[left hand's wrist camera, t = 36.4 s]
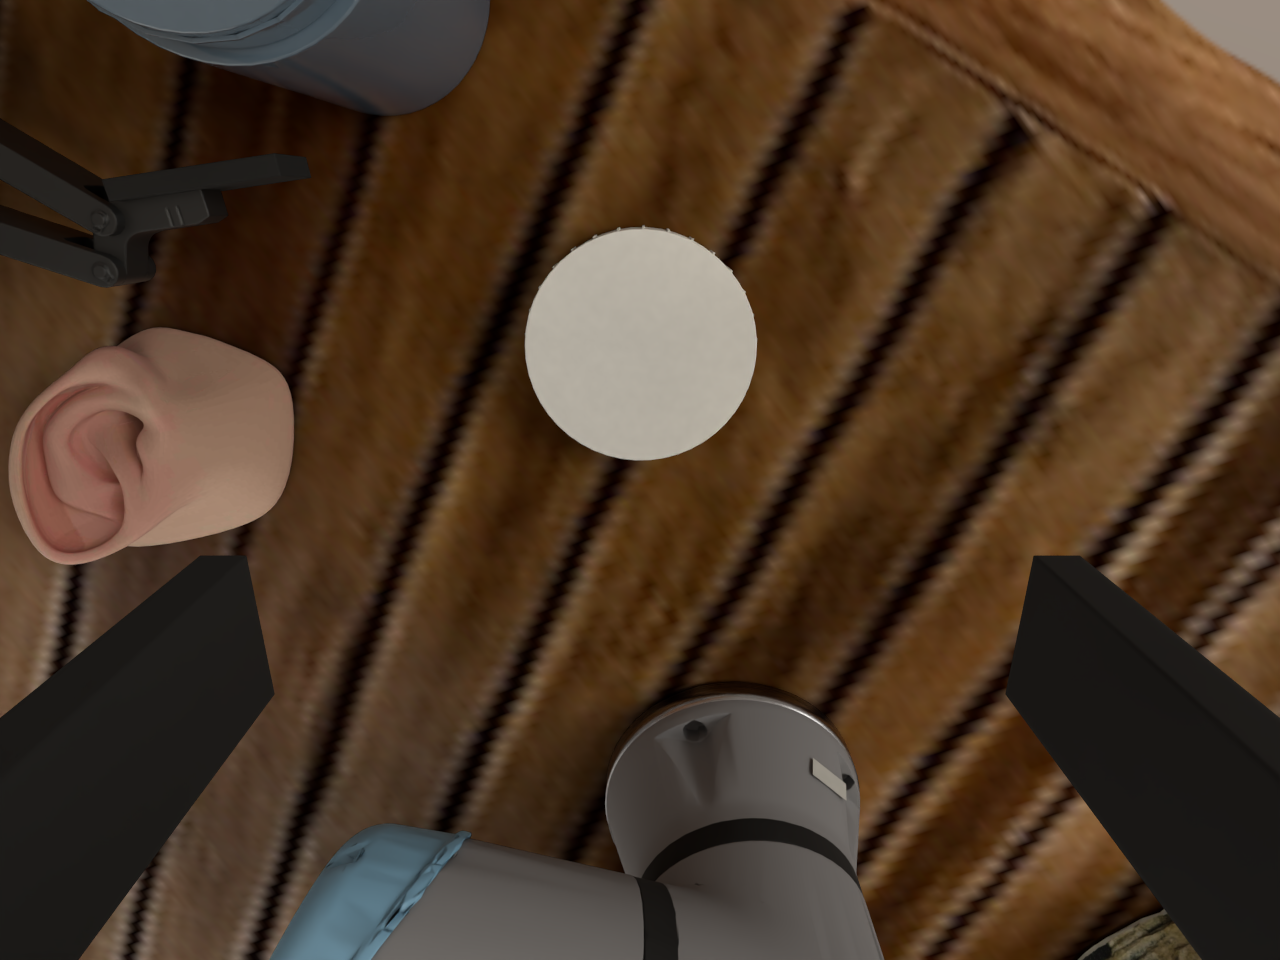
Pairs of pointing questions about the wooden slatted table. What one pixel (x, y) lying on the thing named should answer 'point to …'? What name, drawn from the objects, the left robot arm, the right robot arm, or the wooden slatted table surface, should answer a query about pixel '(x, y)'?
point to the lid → (640, 343)
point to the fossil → (1145, 942)
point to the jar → (323, 44)
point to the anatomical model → (150, 446)
